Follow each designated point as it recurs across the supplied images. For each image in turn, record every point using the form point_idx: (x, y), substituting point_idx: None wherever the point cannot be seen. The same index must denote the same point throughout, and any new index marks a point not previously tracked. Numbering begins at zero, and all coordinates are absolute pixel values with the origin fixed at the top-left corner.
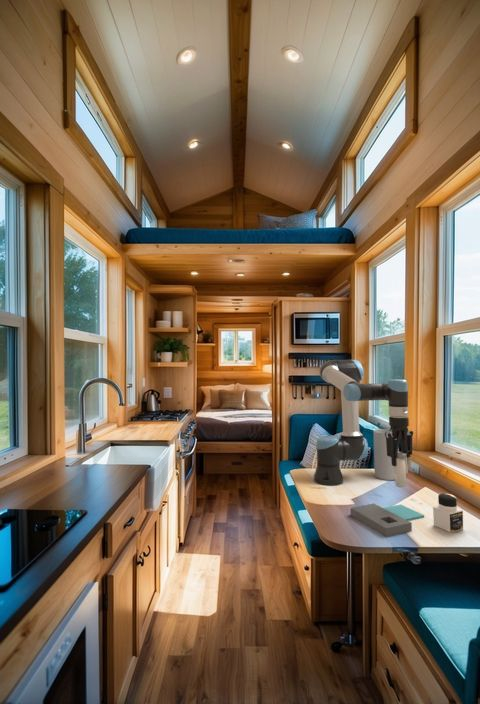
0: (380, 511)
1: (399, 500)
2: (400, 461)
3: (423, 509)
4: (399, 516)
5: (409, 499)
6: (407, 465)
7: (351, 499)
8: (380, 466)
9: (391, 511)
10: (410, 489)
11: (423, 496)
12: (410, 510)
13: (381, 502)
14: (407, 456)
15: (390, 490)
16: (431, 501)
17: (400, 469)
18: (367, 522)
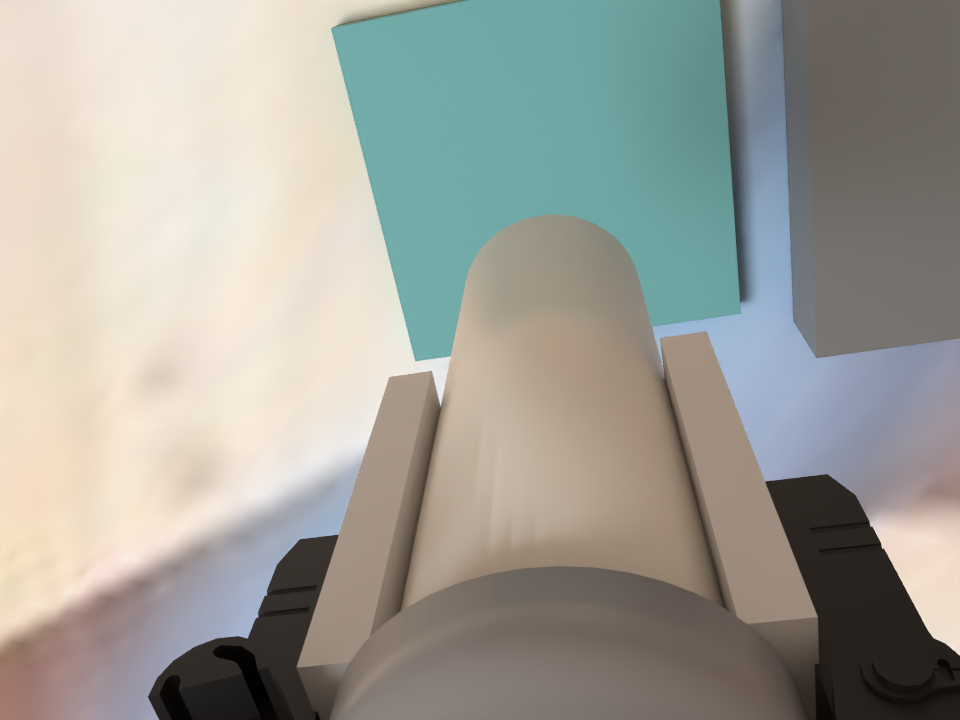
0: (929, 111)
1: (341, 484)
2: (658, 533)
3: (216, 229)
4: (658, 63)
5: (221, 482)
6: (357, 485)
7: None
8: None
9: (653, 217)
10: (78, 671)
11: (34, 513)
12: (410, 194)
13: None
14: (281, 692)
15: None
16: (13, 392)
17: (636, 392)
18: None
